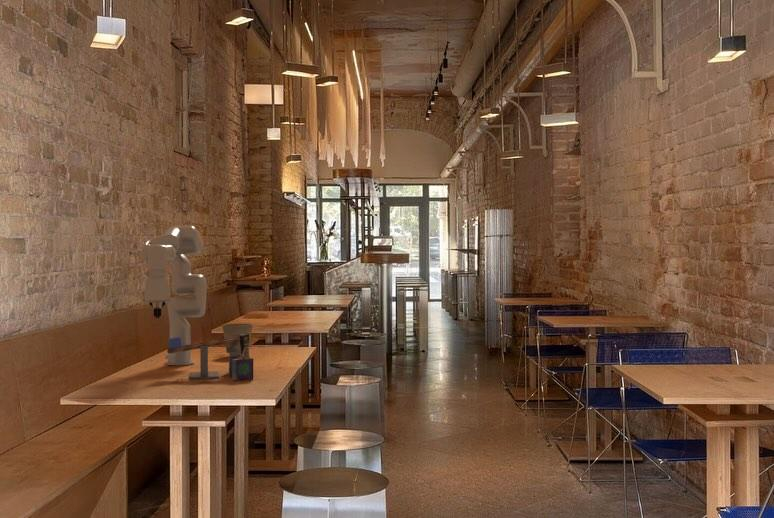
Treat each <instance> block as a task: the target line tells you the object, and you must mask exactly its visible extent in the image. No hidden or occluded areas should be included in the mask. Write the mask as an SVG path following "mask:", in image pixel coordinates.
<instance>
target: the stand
mask: <svg viewBox="0 0 774 518" xmlns="http://www.w3.org/2000/svg"><path fill="white" fill-rule="evenodd" d="M208 348H209V347H208V346H200V348H199V349H200V351H199V353H200V355H199V356H200V358H199V360H200V367H199V369H200V371H194V372H193V371H192V372H189V380H190V381H194V380H219V379H220V374H219V371H218V370H217V371H209V349H208ZM233 359H236V355H233V356H229V355H228V376H229V377H232V360H233Z"/></svg>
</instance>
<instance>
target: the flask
mask: <svg viewBox="0 0 774 518" xmlns="http://www.w3.org/2000/svg"><path fill="white" fill-rule="evenodd" d="M240 356H241V357H240V358H241V359H233V360H232V376H231V380H232V382H243V381H252V380H254V358H253V357H250V356H249V357H248V358H247V357H244V356H243V354H242V355H240Z"/></svg>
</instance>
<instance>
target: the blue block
mask: <svg viewBox="0 0 774 518" xmlns="http://www.w3.org/2000/svg"><path fill="white" fill-rule="evenodd" d="M167 341H168V346H169V347H168V348H170V350H171V349H177V348H182V342H181V336H179V337H173V338H170V337H168V340H167Z"/></svg>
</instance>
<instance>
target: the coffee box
mask: <svg viewBox="0 0 774 518" xmlns="http://www.w3.org/2000/svg"><path fill="white" fill-rule="evenodd" d="M232 337H239V340H240V347H241V351H236V352H230V353H228V354H229V355H228V357H229V356H233V355H236V359H241V358H240V357H241V356H240V355H242V354H243V356H244V357H247V358H248V357H250V342H249V334H234V335H230V336H229V338H232Z"/></svg>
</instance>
